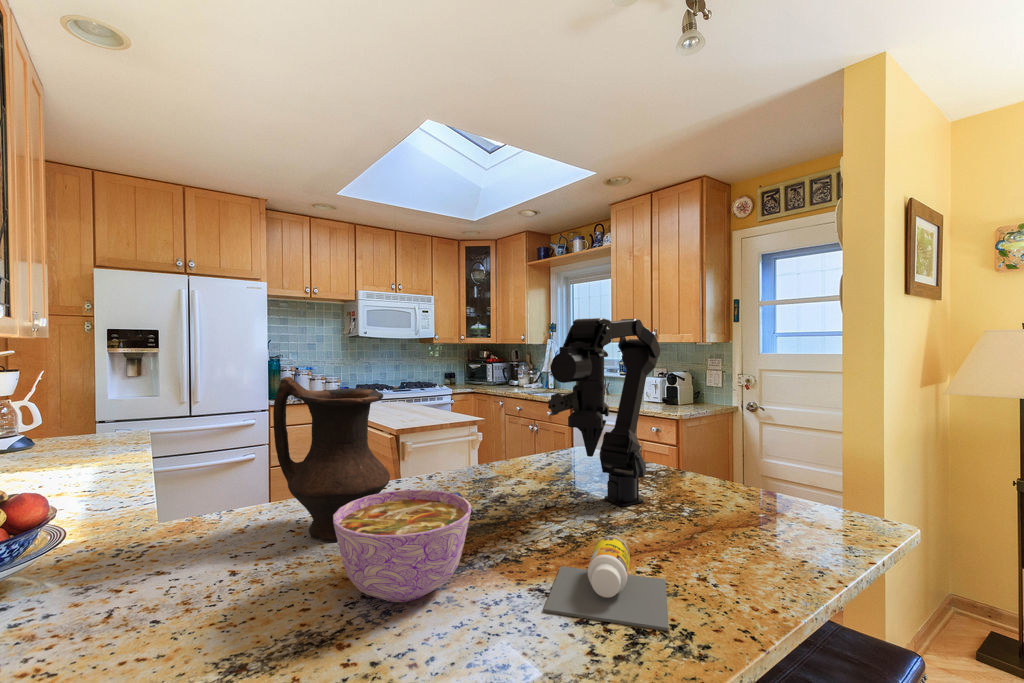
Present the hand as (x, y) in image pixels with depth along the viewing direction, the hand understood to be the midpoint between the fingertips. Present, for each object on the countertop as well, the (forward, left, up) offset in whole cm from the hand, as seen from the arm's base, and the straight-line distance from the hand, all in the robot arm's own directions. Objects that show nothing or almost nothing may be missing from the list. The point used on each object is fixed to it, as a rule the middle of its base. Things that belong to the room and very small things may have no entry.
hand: (590, 456), depth 99 cm
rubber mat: (+16, +25, -13) cm, 33 cm away
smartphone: (+22, -22, -14) cm, 34 cm away
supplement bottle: (+11, +20, -10) cm, 25 cm away
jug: (+47, -19, -13) cm, 52 cm away
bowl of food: (+41, +9, -13) cm, 44 cm away
